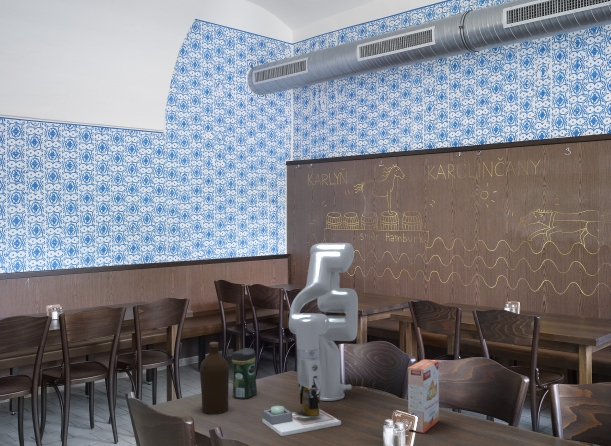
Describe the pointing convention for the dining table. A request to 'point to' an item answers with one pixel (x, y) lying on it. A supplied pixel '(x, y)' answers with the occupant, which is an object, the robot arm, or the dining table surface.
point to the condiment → (305, 406)
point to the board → (297, 422)
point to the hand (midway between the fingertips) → (309, 405)
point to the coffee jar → (244, 373)
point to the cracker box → (424, 393)
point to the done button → (277, 410)
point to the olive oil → (214, 381)
